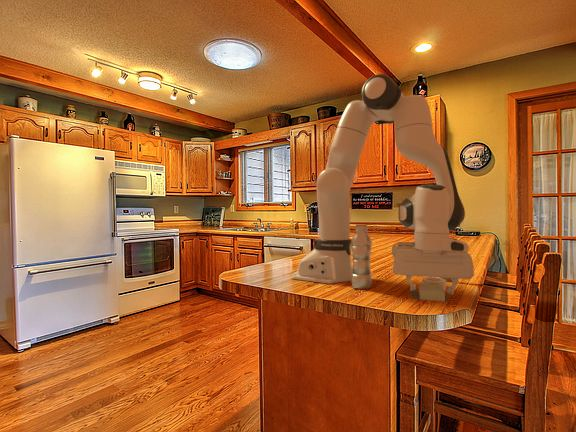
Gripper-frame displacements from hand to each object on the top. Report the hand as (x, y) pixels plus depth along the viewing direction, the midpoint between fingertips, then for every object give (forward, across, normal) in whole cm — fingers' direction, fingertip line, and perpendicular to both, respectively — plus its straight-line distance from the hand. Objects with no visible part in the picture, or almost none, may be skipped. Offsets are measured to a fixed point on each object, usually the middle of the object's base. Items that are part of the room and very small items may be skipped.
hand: (431, 292), depth 87 cm
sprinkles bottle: (+2, +6, +23) cm, 24 cm away
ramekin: (+2, +2, +9) cm, 9 cm away
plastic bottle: (+2, -20, +5) cm, 20 cm away
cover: (+1, 0, 0) cm, 1 cm away
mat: (+2, 0, 0) cm, 2 cm away
